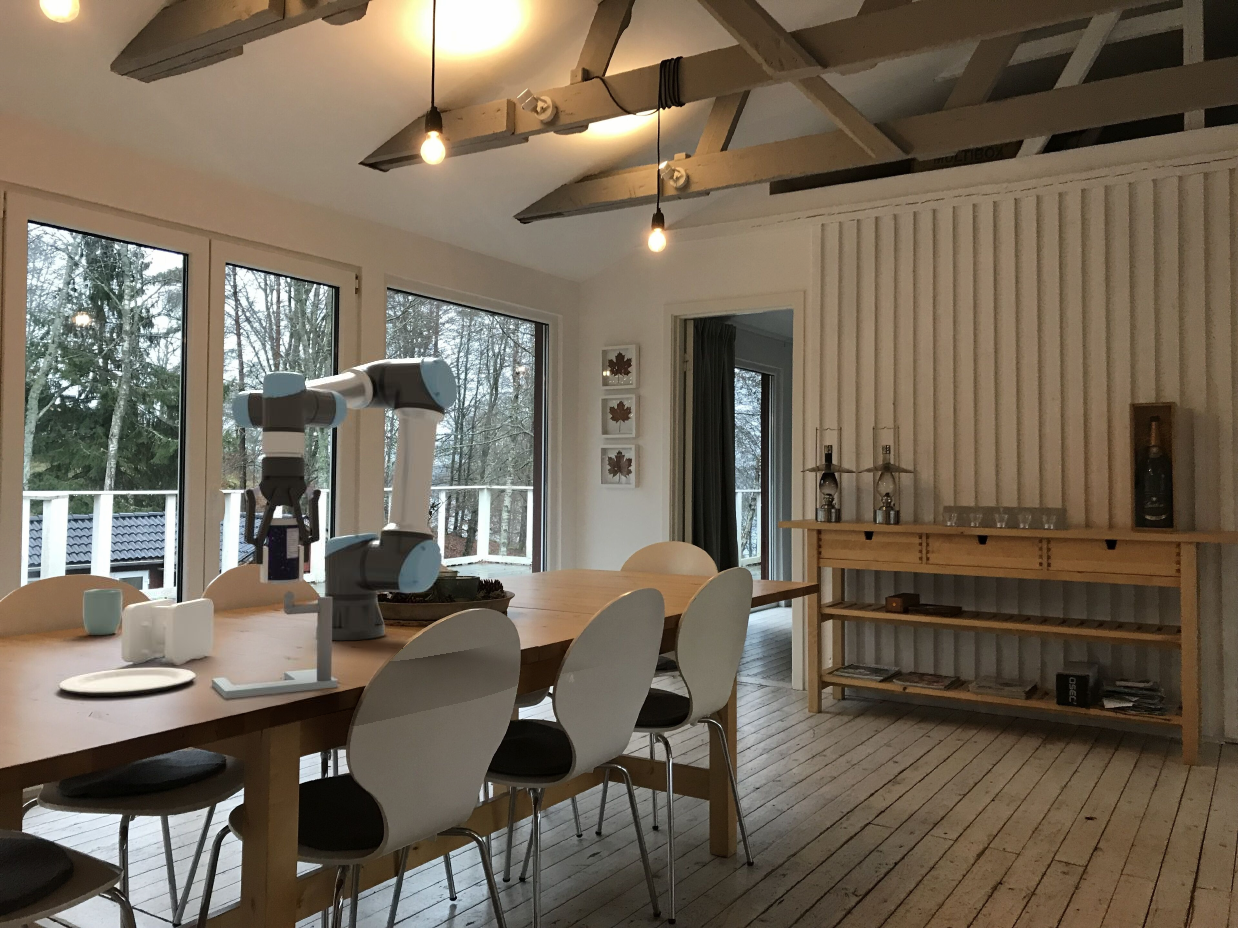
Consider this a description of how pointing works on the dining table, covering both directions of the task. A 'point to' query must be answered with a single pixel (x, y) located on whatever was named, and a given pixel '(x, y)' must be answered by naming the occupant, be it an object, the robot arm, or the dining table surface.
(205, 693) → the dining table surface
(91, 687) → the plate
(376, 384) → the robot arm
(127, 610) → the cable organizer
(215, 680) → the l-shaped desk stand
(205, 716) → the dining table surface
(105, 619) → the cup
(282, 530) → the beverage can
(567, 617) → the dining table surface
